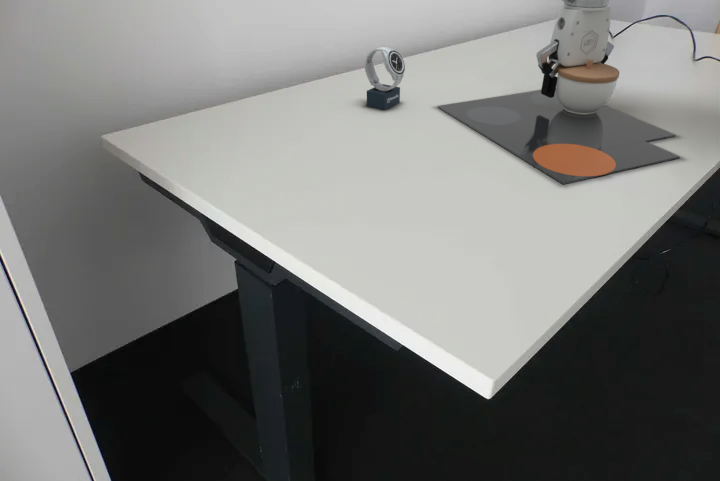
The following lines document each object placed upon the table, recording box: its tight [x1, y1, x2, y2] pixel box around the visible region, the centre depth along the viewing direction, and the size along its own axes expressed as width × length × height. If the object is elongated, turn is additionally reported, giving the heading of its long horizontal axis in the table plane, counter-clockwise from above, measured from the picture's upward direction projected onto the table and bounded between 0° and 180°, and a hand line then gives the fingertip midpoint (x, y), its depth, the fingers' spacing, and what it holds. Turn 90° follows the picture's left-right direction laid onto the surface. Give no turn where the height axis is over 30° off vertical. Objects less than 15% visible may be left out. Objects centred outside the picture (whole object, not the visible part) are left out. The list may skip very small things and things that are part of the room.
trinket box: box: [556, 59, 620, 115], centre depth 102 cm, size 11×11×9 cm
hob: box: [437, 89, 681, 185], centre depth 97 cm, size 30×37×1 cm
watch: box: [364, 46, 406, 111], centre depth 106 cm, size 6×8×11 cm
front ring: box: [533, 144, 616, 177], centre depth 85 cm, size 12×12×1 cm
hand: (567, 92), depth 106 cm, fingers open, 9 cm apart
